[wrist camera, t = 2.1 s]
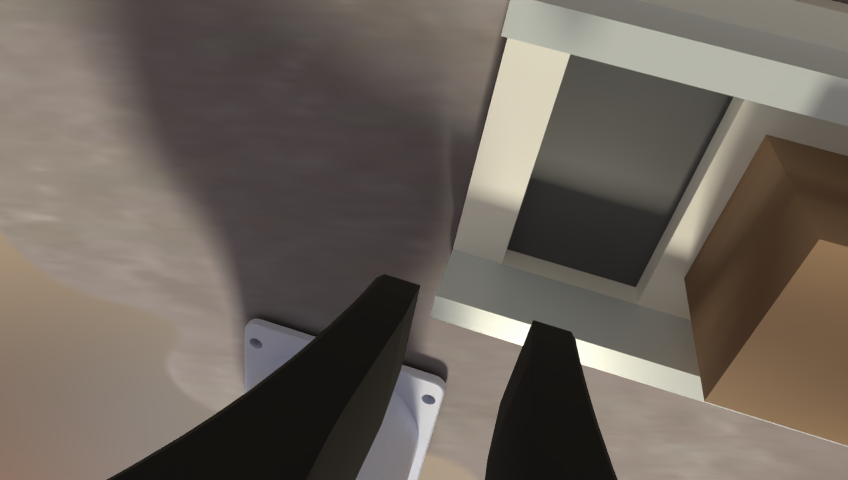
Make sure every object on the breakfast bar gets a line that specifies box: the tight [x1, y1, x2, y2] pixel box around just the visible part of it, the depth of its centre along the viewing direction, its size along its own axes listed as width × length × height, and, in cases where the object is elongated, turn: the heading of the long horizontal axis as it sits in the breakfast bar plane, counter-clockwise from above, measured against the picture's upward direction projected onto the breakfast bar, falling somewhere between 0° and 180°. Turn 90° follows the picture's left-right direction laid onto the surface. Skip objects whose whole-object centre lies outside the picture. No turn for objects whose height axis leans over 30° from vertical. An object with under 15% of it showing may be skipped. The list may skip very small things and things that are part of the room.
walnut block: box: [684, 135, 848, 446], centre depth 13 cm, size 4×4×4 cm
